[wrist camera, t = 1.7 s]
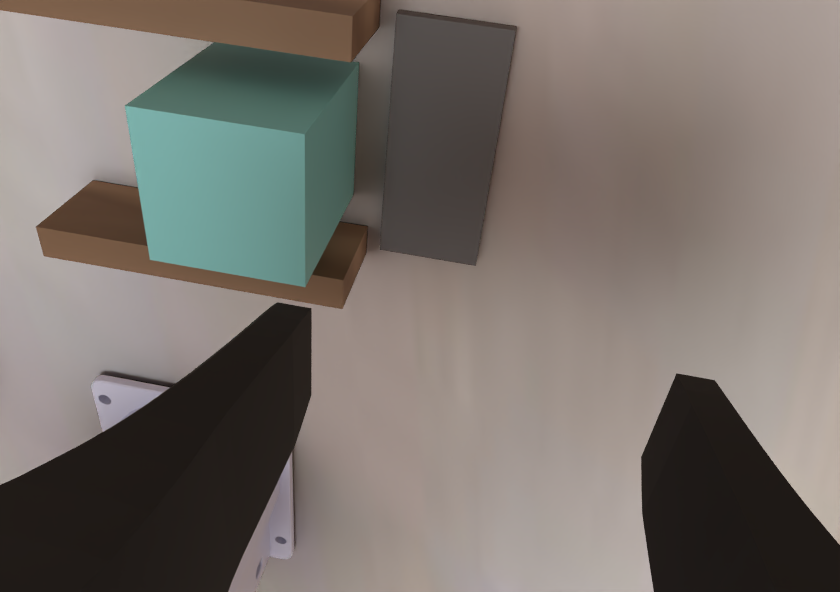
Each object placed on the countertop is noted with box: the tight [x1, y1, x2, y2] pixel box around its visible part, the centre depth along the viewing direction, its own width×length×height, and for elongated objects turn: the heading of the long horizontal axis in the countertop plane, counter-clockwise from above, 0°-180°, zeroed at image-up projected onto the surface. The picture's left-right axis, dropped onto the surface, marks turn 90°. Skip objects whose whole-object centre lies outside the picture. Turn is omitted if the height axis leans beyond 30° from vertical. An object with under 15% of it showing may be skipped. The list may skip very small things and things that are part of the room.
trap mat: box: [380, 10, 516, 266], centre depth 20 cm, size 7×3×1 cm, turn 175°
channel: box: [0, 0, 381, 309], centre depth 19 cm, size 8×9×3 cm
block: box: [125, 42, 359, 287], centre depth 18 cm, size 4×4×5 cm
